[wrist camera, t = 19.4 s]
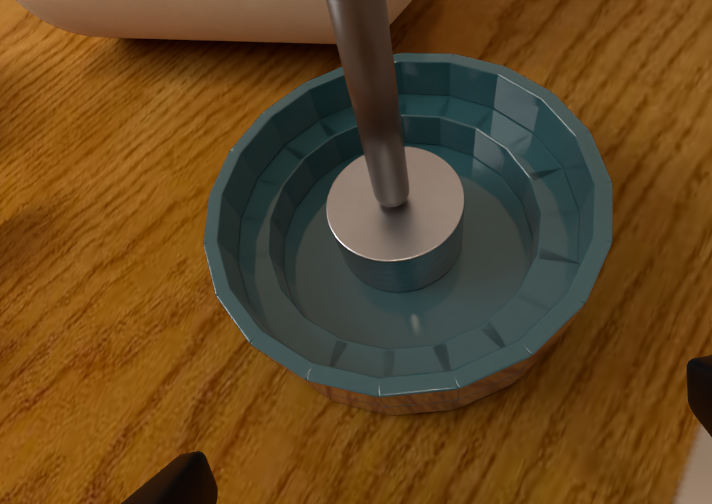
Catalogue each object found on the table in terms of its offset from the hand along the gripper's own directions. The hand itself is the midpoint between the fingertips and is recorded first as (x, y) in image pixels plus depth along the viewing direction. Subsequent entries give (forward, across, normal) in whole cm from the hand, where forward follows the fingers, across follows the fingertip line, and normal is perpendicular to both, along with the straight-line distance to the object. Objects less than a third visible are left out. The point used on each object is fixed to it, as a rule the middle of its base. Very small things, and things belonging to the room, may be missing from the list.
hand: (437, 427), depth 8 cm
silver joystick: (+13, 0, 0) cm, 13 cm away
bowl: (+13, 0, 0) cm, 13 cm away
